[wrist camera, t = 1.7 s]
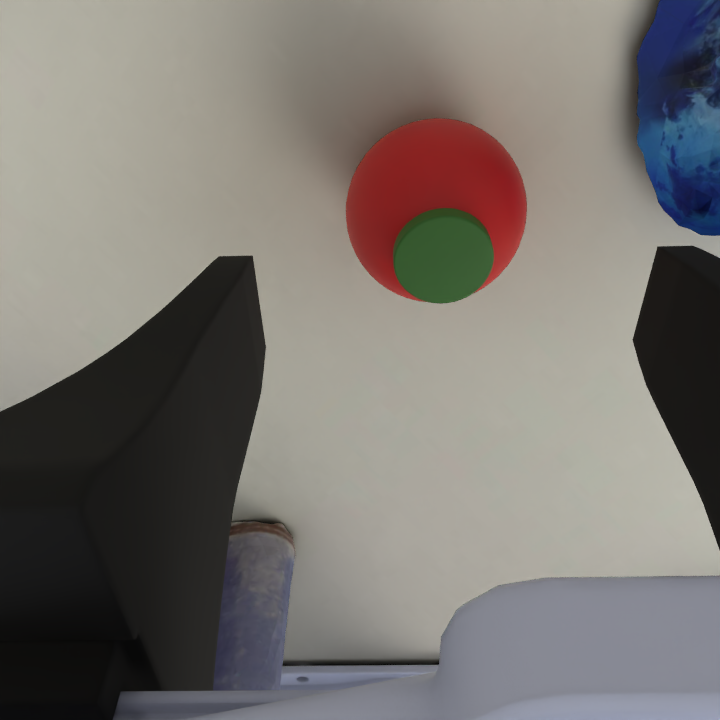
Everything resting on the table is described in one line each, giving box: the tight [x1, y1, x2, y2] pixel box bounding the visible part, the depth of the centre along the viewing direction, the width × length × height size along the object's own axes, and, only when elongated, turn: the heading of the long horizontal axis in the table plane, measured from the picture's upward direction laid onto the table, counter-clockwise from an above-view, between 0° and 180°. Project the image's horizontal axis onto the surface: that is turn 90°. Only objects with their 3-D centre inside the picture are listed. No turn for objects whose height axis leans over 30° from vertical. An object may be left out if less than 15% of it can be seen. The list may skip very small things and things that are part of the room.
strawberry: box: [346, 118, 527, 303], centre depth 15 cm, size 4×4×4 cm
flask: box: [213, 521, 296, 691], centre depth 22 cm, size 9×3×11 cm, turn 105°
